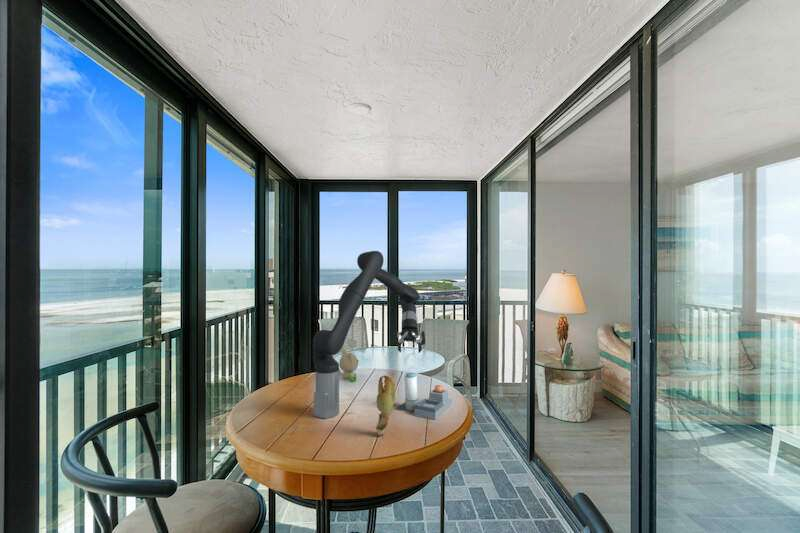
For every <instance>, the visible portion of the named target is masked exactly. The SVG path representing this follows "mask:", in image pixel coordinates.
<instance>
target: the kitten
mask: <svg viewBox="0 0 800 533" xmlns="http://www.w3.org/2000/svg"><path fill="white" fill-rule="evenodd" d="M341 352H342V355H341V356H340V359H339V362H338V363H339V377H342V378H343V379H345V380H349V382H350V383H351V382H352V383H356V382H357V374H356V372H355V371H356V370H358V366H359V359H358V358H357V356H356V354H354V353H352V352H347V351H346V349H344V348H343V349H342V351H341ZM341 370H342V371H343V372H342V371H341Z"/></svg>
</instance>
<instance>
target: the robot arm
mask: <svg viewBox="0 0 800 533" xmlns="http://www.w3.org/2000/svg"><path fill="white" fill-rule="evenodd" d="M356 260H357V261H356V263H357V266H358V268H359V269H360V270H361V272H359V275H357V276H356V277H355V278H354V279H353V280H352V281H351V282H350V283H349V284H348V285H347V286H346V288H345V289H344V290H343V292H342V294H341V296H340V298H339V300H338V304H337V305H338V306H337V308H338V309H337V310H338V315H337V316H338V317H337V319H336V322H335V324H334V325H333V328H332V329H331V330H328V329H320V330H318V331H317V332H316V333H315V334H314V336H313V339H312V356H313V357H312V358H313V364H314V367H315V391H314V392H313V416H314V417H317V418H320V419H326V420H327V419H329V418H333V417H336V416H338V415H339V414H340V375H339V369H340V366H339V362H338V361H337V360H336V359H335V358H334V357H333V356H334V355H337V354H338V353H339V352H340V351H341V350H342V348H343V346H344V343H345V341H346V338H347V336H348V333H349V330H350V328H351V326H352V323H353V321H354V320H355V317H356V316H357V314H358V311H359V309H360V307H361V306H362V304H363V301H364V299H365V297H366V295H367V293H368V291H369V290H370V288H371V285H372V283H373V282H374V281H375V280H377V281H378V282H380V283H382V284H383V285H384V286H385V287H386V288H388V289H389V290H390V291H391V292H392V293H393V294H395V296H398V302H399V304H400V306H401V331H400V332H399V331H398V330H395V332H394V336H393V337H394V338H393V344H394V345H396V346H397V351H398V352H399V353H402V344H404V342H414V343H415V344H417V346H418V347H417V348H418V349H417V350H418V353H421V352H422V346H426V334H425V331H424V330H423V331H421V332H420V331H418V317H417V306H416V305H415V303H416V302H418V301H419V299H420V293H419V292H418V290H417V289H415V288H414V287H412V286H410V285H408V284H406V283H404V282H403V281H402V280H401V279H400V278H399V277H398V276H396V275H395V274H393V273H391V272H389V271H386V270H385V269H383V265H384V260H385V259H384V255H383V253H382V252H380V251H379V250H371V251H364V252H363V253H361V254H359V255H358V256H357V258H356ZM399 337H400V338H399ZM419 337H420V338H421V339H420V338H419ZM398 338H399V340H398Z"/></svg>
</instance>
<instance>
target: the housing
mask: <svg viewBox="0 0 800 533" xmlns="http://www.w3.org/2000/svg"><path fill="white" fill-rule="evenodd" d="M452 405H453V404H452V399H451V398H449V391H448V390H447V389H443V393H435V388H434V389H433V390H431V391H430V392H429V398H423V399H422V400H421V401H419V402H418V404H416V405H415V409H414V413H413V414H414V416H416V417H420V418H424V419H430V420H435V421H436V420H437V419H438V418H439V417H440V416H441V415H442V414H444V413H445V412H446V411H448V409H450V407H452Z"/></svg>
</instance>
